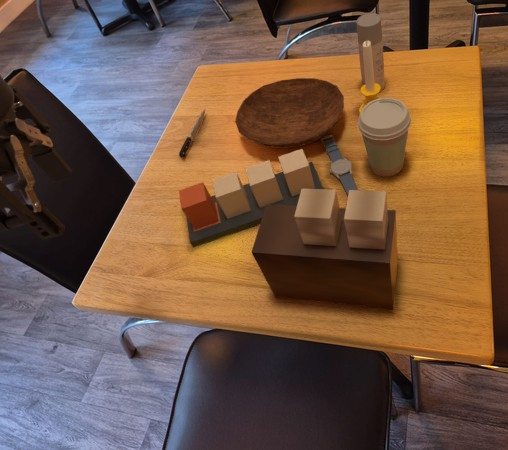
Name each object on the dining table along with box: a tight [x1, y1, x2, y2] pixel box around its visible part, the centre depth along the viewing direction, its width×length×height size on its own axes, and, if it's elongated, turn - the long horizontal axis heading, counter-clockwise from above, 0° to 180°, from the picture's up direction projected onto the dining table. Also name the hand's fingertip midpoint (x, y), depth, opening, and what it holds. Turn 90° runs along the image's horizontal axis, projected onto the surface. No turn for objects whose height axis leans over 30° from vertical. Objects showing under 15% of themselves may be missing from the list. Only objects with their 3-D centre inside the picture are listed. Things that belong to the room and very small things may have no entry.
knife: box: [178, 108, 206, 159], centre depth 94 cm, size 15×1×2 cm, turn 166°
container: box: [356, 12, 386, 93], centre depth 87 cm, size 5×5×15 cm
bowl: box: [234, 77, 345, 149], centre depth 88 cm, size 20×22×5 cm
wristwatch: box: [320, 134, 359, 196], centre depth 80 cm, size 4×20×1 cm, turn 15°
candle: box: [358, 40, 381, 114], centre depth 83 cm, size 5×5×16 cm
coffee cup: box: [357, 97, 412, 177], centre depth 75 cm, size 8×8×12 cm
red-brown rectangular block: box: [178, 181, 219, 229], centre depth 76 cm, size 4×4×6 cm
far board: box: [185, 148, 324, 248], centre depth 77 cm, size 9×25×8 cm, turn 105°
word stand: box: [250, 188, 399, 310], centre depth 60 cm, size 18×8×19 cm, turn 78°
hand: (60, 204), depth 46 cm, fingers open, 8 cm apart
